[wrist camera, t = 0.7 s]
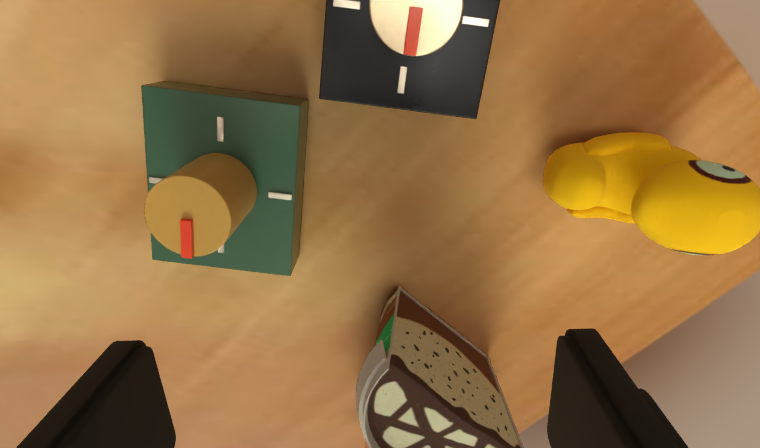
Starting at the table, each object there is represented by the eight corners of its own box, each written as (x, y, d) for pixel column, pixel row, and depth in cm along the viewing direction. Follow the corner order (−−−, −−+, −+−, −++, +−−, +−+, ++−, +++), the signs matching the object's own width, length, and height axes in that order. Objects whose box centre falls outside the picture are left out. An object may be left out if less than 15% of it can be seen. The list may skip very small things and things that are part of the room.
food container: (329, 326, 35) (307, 429, 26) (382, 272, 33) (380, 363, 24) (446, 411, 38) (464, 531, 29) (501, 366, 36) (539, 478, 27)
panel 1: (164, 80, 29) (139, 85, 26) (309, 99, 29) (300, 105, 26) (172, 241, 33) (150, 261, 30) (298, 256, 33) (290, 277, 30)
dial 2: (378, -36, 24) (375, -56, 19) (455, -25, 24) (473, -42, 19) (369, 48, 25) (364, 50, 20) (442, 58, 25) (455, 62, 20)
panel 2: (340, -96, 25) (333, -114, 22) (503, -73, 25) (518, -88, 22) (325, 93, 29) (318, 99, 26) (468, 111, 29) (477, 119, 26)
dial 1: (183, 148, 27) (137, 171, 22) (258, 157, 27) (229, 183, 22) (185, 217, 29) (143, 254, 24) (256, 226, 29) (229, 264, 24)
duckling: (715, 133, 29) (866, 177, 20) (687, 213, 31) (813, 286, 22) (537, 118, 29) (606, 155, 20) (520, 199, 31) (576, 267, 22)
